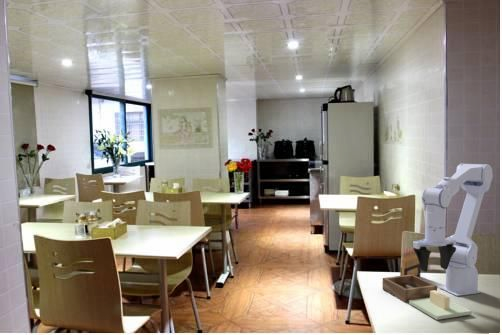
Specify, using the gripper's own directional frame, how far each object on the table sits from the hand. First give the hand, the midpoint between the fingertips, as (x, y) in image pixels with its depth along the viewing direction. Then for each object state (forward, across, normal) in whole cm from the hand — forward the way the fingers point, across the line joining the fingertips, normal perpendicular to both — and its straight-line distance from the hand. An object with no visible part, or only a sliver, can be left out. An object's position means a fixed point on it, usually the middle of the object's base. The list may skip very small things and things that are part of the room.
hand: (434, 269), depth 128 cm
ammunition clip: (+10, +7, +20) cm, 24 cm away
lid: (+11, -3, -6) cm, 12 cm away
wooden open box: (+10, -3, +8) cm, 13 cm away
